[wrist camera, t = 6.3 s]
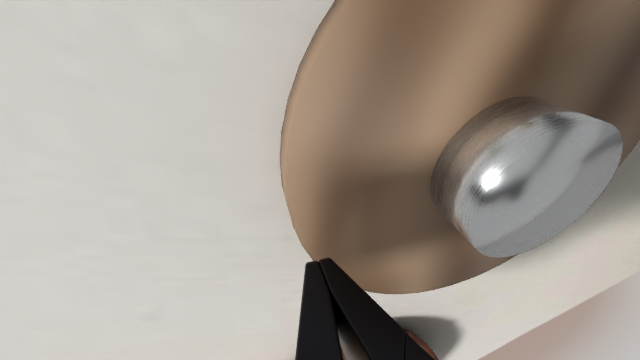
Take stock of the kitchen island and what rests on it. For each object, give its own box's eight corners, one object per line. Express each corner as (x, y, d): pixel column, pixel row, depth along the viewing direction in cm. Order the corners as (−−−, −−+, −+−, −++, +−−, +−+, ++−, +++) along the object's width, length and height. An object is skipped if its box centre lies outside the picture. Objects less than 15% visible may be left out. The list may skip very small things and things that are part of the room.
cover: (579, 88, 13) (657, 109, 11) (522, 204, 17) (570, 239, 15) (447, 105, 12) (504, 134, 9) (419, 228, 16) (453, 271, 13)
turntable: (764, -137, 11) (1016, -196, 8) (552, 235, 23) (611, 280, 20) (225, -135, 8) (225, -249, 4) (303, 308, 20) (321, 380, 16)
